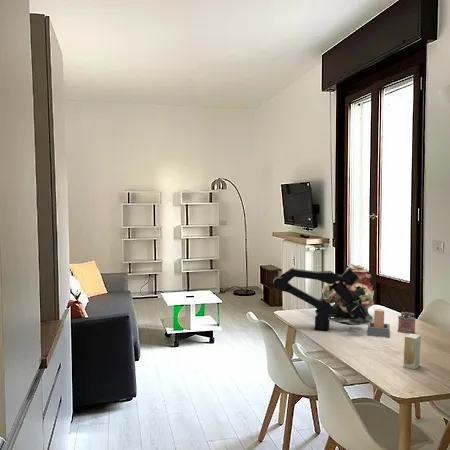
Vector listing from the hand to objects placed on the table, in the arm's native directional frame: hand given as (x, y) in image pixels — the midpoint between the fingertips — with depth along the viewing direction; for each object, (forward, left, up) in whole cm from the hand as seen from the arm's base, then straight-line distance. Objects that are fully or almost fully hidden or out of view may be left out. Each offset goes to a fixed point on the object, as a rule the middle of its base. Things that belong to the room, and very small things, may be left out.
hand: (365, 316), depth 241 cm
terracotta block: (+6, 0, -7) cm, 10 cm away
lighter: (+19, +8, -8) cm, 22 cm away
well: (+6, 0, -8) cm, 10 cm away
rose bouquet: (-9, +25, -8) cm, 28 cm away
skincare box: (+19, -45, -8) cm, 50 cm away
